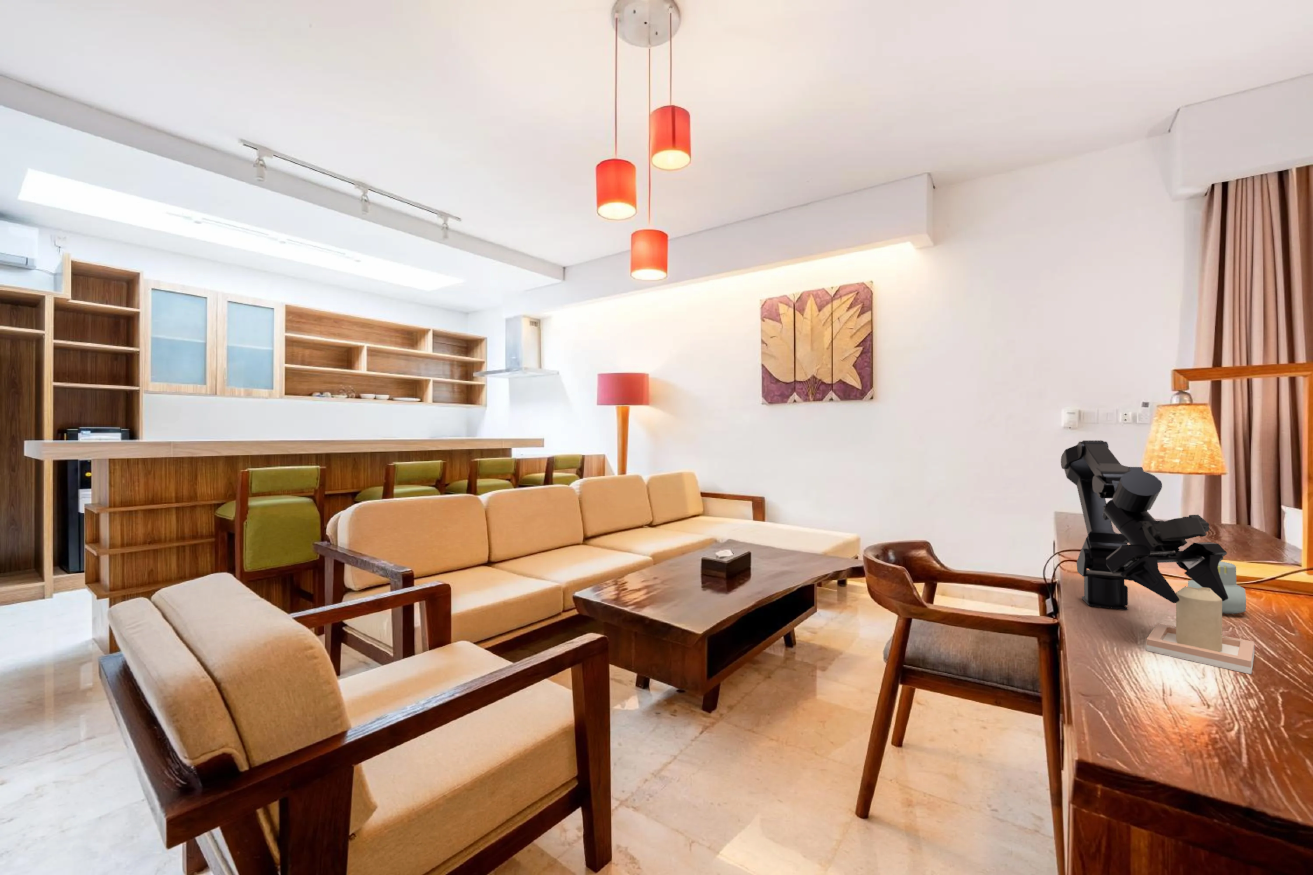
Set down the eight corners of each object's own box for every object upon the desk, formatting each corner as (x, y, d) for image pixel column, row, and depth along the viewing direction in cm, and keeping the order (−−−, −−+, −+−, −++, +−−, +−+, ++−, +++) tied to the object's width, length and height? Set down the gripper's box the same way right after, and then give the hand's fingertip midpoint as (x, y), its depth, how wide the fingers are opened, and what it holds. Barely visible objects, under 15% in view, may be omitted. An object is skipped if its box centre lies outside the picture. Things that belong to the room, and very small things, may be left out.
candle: (1208, 641, 92) (1208, 584, 92) (1230, 653, 87) (1230, 593, 87) (1169, 637, 94) (1168, 581, 94) (1188, 649, 89) (1187, 590, 89)
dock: (1251, 674, 82) (1251, 661, 82) (1146, 650, 91) (1146, 638, 91) (1254, 653, 90) (1254, 641, 90) (1157, 633, 99) (1157, 622, 99)
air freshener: (1188, 600, 119) (1188, 555, 119) (1243, 608, 113) (1243, 561, 113) (1187, 611, 111) (1187, 563, 111) (1246, 621, 105) (1246, 570, 105)
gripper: (1120, 500, 95) (1188, 578, 84) (1214, 498, 96) (1292, 574, 85) (1081, 535, 103) (1138, 611, 92) (1168, 533, 104) (1235, 607, 93)
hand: (1201, 600), depth 90 cm, fingers open, 9 cm apart
